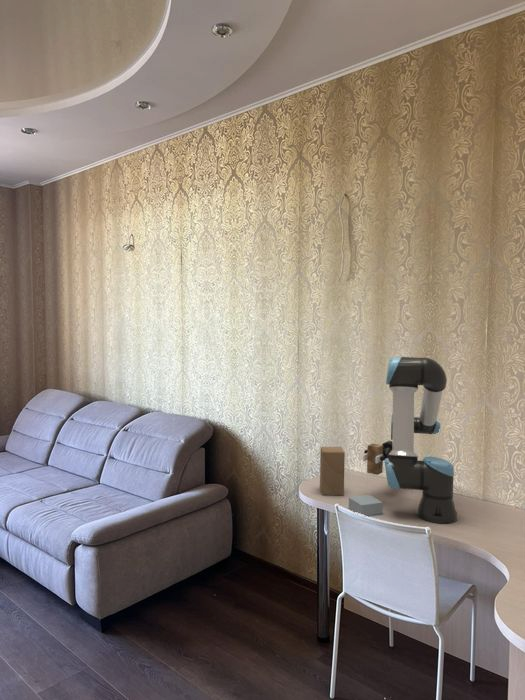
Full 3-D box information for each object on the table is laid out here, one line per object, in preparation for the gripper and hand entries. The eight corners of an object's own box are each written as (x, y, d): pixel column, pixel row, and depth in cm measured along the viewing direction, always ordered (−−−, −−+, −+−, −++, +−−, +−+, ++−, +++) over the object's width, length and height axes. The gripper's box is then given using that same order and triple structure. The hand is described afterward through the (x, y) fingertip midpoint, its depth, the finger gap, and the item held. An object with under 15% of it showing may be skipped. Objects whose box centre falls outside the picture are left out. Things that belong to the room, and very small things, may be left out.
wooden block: (344, 495, 228) (344, 451, 228) (321, 495, 229) (322, 451, 228) (341, 488, 238) (341, 446, 238) (319, 488, 239) (320, 446, 238)
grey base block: (382, 514, 207) (382, 502, 207) (361, 517, 203) (361, 505, 203) (369, 506, 216) (369, 494, 216) (348, 508, 213) (348, 497, 213)
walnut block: (382, 472, 221) (383, 445, 221) (377, 474, 217) (378, 447, 216) (371, 470, 224) (372, 443, 223) (367, 472, 220) (367, 445, 219)
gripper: (409, 460, 230) (390, 471, 211) (372, 453, 240) (350, 464, 221) (410, 443, 229) (390, 453, 210) (372, 438, 240) (350, 447, 221)
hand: (370, 459), depth 216 cm, fingers closed on walnut block, 5 cm apart
